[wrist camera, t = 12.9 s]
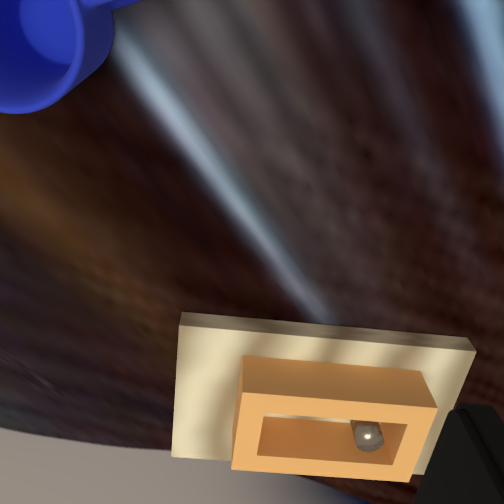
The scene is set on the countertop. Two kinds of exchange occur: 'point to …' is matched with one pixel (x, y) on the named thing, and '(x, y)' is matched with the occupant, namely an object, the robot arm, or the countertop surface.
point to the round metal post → (367, 435)
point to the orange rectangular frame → (328, 406)
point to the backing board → (295, 348)
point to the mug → (51, 48)
